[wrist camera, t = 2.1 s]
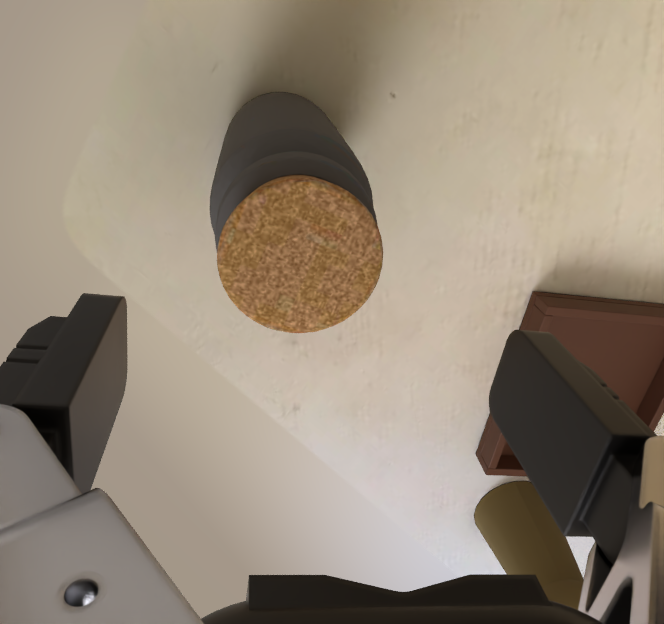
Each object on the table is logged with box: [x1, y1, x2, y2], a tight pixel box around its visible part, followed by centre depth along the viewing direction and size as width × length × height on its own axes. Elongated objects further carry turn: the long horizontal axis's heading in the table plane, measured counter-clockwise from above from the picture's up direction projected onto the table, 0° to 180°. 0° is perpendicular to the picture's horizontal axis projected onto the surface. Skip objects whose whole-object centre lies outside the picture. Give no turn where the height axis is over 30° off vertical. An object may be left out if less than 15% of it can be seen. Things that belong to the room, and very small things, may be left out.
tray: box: [476, 292, 664, 476], centre depth 38 cm, size 13×11×2 cm
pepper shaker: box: [474, 481, 584, 610], centre depth 39 cm, size 6×6×11 cm
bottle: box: [210, 92, 383, 333], centre depth 22 cm, size 6×6×15 cm
